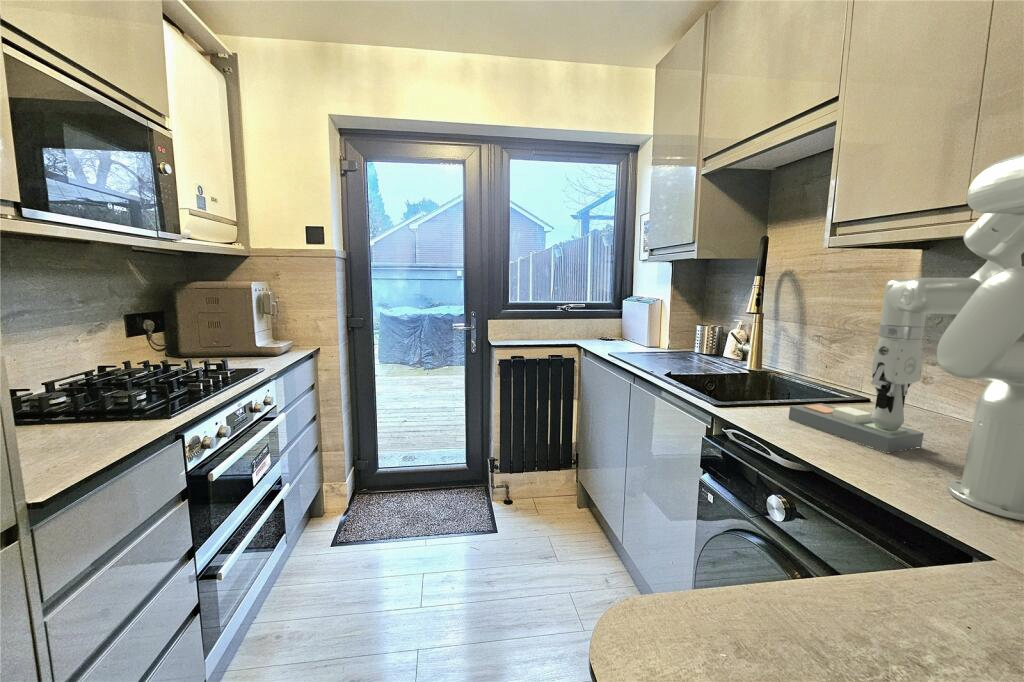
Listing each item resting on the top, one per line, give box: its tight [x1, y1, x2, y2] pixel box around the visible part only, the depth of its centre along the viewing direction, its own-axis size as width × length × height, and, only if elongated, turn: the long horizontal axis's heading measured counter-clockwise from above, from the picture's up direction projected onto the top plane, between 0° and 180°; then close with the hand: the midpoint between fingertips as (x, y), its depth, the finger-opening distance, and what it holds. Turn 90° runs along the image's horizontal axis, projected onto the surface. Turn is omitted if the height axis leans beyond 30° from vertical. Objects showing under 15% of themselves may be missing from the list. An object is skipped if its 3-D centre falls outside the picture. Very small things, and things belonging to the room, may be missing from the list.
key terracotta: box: [804, 405, 833, 414], centre depth 116 cm, size 6×6×4 cm
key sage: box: [864, 423, 906, 435], centre depth 102 cm, size 6×6×4 cm
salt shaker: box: [871, 378, 905, 430], centre depth 100 cm, size 6×6×13 cm
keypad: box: [788, 402, 925, 454], centre depth 109 cm, size 24×12×4 cm, turn 18°
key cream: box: [832, 406, 872, 424], centre depth 109 cm, size 6×6×4 cm
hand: (888, 410), depth 100 cm, fingers closed on salt shaker, 3 cm apart
